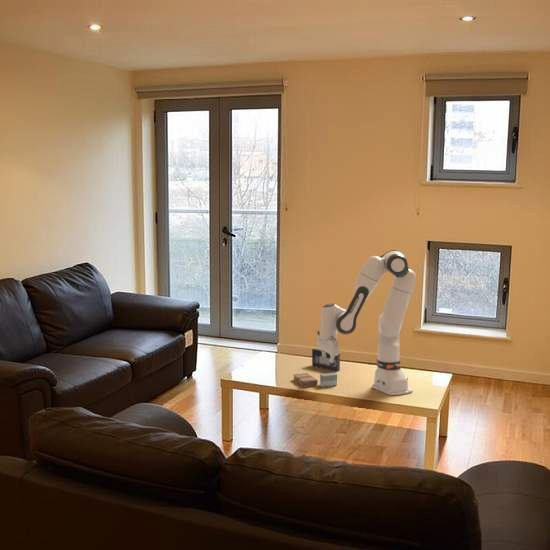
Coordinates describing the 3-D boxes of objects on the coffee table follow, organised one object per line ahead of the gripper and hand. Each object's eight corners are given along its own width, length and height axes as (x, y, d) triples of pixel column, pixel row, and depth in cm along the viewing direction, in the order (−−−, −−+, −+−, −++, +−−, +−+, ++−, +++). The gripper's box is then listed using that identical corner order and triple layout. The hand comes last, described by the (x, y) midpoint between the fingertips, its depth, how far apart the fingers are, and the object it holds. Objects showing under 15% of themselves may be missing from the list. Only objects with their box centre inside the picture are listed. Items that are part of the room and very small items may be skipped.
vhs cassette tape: (311, 365, 397) (311, 349, 395) (315, 364, 399) (315, 348, 397) (336, 371, 385) (337, 354, 383) (340, 370, 387) (340, 353, 385)
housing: (336, 385, 360) (337, 374, 359) (323, 387, 357) (323, 376, 356) (333, 383, 364) (333, 372, 363) (320, 385, 361) (320, 374, 360)
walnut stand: (317, 385, 359) (317, 380, 359) (303, 387, 357) (303, 381, 356) (307, 378, 372) (307, 373, 372) (293, 379, 370) (293, 374, 369)
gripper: (342, 338, 348) (341, 364, 350) (326, 329, 367) (325, 354, 369) (331, 339, 345) (330, 365, 348) (315, 330, 364) (314, 355, 367)
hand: (327, 359), depth 358 cm, fingers open, 8 cm apart
